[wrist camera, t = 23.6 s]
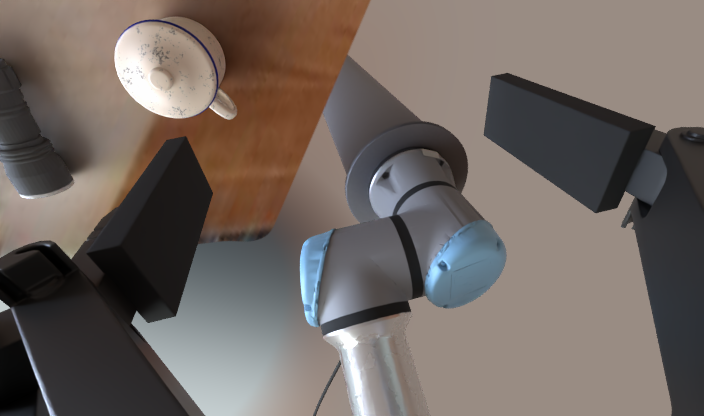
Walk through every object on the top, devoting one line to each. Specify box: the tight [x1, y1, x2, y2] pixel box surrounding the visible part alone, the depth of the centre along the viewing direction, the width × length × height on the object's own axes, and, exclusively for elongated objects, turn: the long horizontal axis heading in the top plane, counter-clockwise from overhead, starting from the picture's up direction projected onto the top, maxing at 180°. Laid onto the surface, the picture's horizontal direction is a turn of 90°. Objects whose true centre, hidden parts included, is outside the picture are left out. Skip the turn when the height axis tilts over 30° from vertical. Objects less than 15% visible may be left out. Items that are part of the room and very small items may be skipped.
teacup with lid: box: [115, 17, 237, 119], centre depth 34 cm, size 12×9×12 cm
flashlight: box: [0, 58, 74, 199], centre depth 36 cm, size 15×5×5 cm, turn 178°
